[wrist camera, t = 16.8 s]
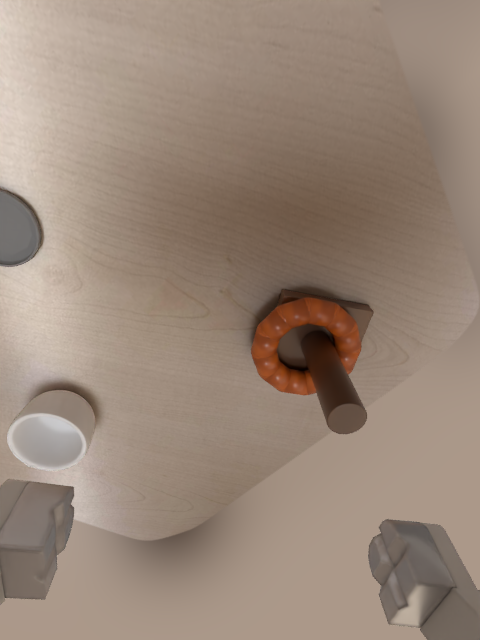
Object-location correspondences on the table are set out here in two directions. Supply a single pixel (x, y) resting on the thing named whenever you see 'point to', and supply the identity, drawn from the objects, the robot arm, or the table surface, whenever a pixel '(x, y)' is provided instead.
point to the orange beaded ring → (297, 316)
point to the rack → (326, 364)
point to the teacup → (52, 431)
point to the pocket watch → (17, 231)
